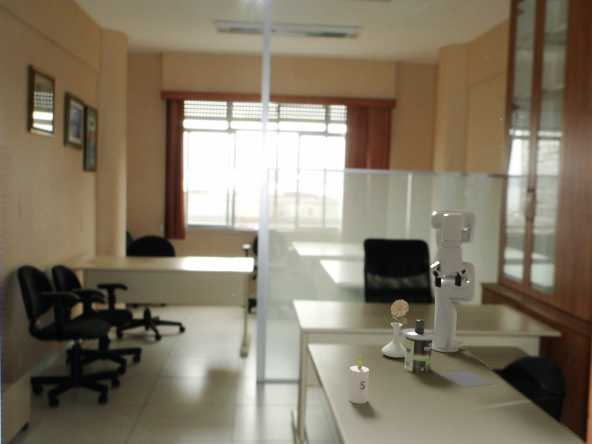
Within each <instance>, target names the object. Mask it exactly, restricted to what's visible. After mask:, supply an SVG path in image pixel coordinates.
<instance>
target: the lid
mask: <svg viewBox="0 0 592 444" xmlns="http://www.w3.org/2000/svg"><path fill="white" fill-rule="evenodd" d="M414 322H415V323H414V327H413V328H405V329H403V330H402V336H403V337H405V338H406V337H407V338H410V339H414V340H423V341H428V340H432V341H433V340H434V339H436V333H435V332H434V331H432V330H429V329H425V327H426V326H425V324H426V323H425V322H426V320H425V319H422V318H421V319H420V318H416V319H415V321H414Z"/></svg>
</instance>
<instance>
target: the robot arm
mask: <svg viewBox="0 0 592 444" xmlns="http://www.w3.org/2000/svg"><path fill="white" fill-rule="evenodd" d="M430 227H431V228H432V230H435V243H436V247H437V253H436V257H435V263H434V264H432V265H431V266H430V267H429V268H430V270H431V273H432V275H433V276H434V277H435V278H434V290H433V291H434V301H435V302H434V321H433V323H434V324H433V332H435V333H436V339H434V340H432V351H433V350H434V351H436V352H440V353H457V352H458V351H459V347H458V345H462V344H464V340H463V339H457V338H456V332H457V331H456V330H457V316H458V315H457V314H458V312H457V309H456V307H455V305H454V304H453V303H454V302H456V303H457V302H458V303H465V304H466V303H467V304H469V303H472V302H473V301H474V299H475V296H476V268H475V266H474V264H473V263H472V262H470V261H463V251H462V248H461V245H470V244H472V243H473V241H474V240H475V239H474V238H475V229H476V215H475V213H474V212H473V211H472V210H470V209H469V210H468V209H447V210H434V211H433V212H432V213H431V216H430ZM452 302H453V303H452Z"/></svg>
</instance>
